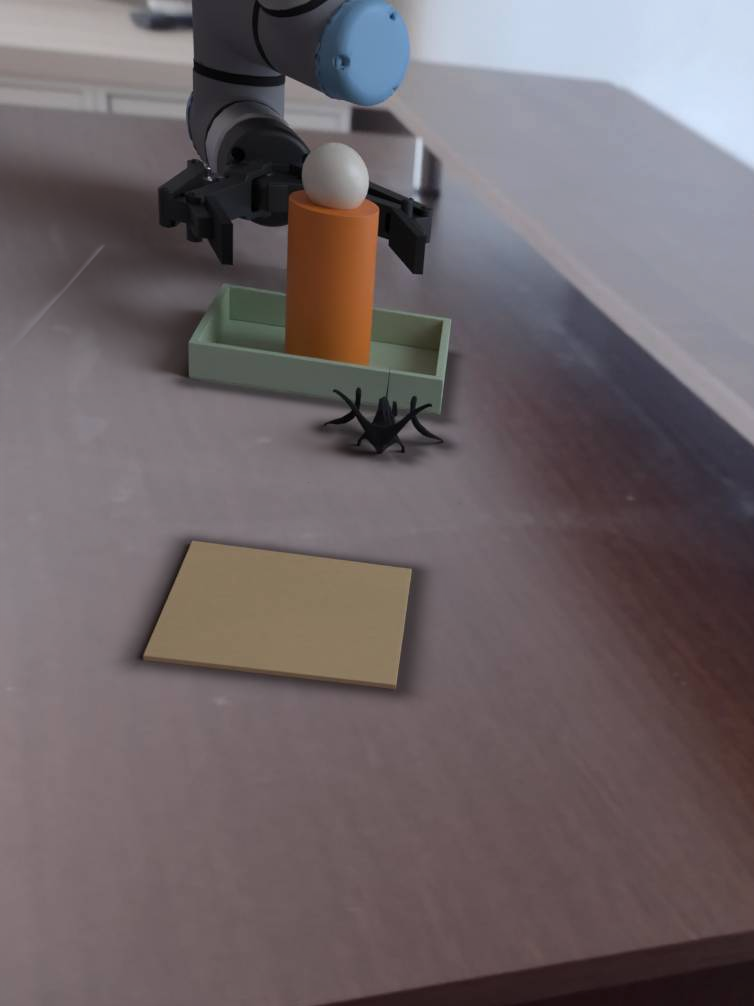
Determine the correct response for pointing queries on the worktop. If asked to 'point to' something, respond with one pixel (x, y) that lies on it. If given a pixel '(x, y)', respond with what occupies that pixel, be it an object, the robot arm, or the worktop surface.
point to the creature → (383, 421)
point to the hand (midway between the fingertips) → (326, 250)
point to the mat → (284, 616)
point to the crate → (263, 363)
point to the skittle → (331, 258)
